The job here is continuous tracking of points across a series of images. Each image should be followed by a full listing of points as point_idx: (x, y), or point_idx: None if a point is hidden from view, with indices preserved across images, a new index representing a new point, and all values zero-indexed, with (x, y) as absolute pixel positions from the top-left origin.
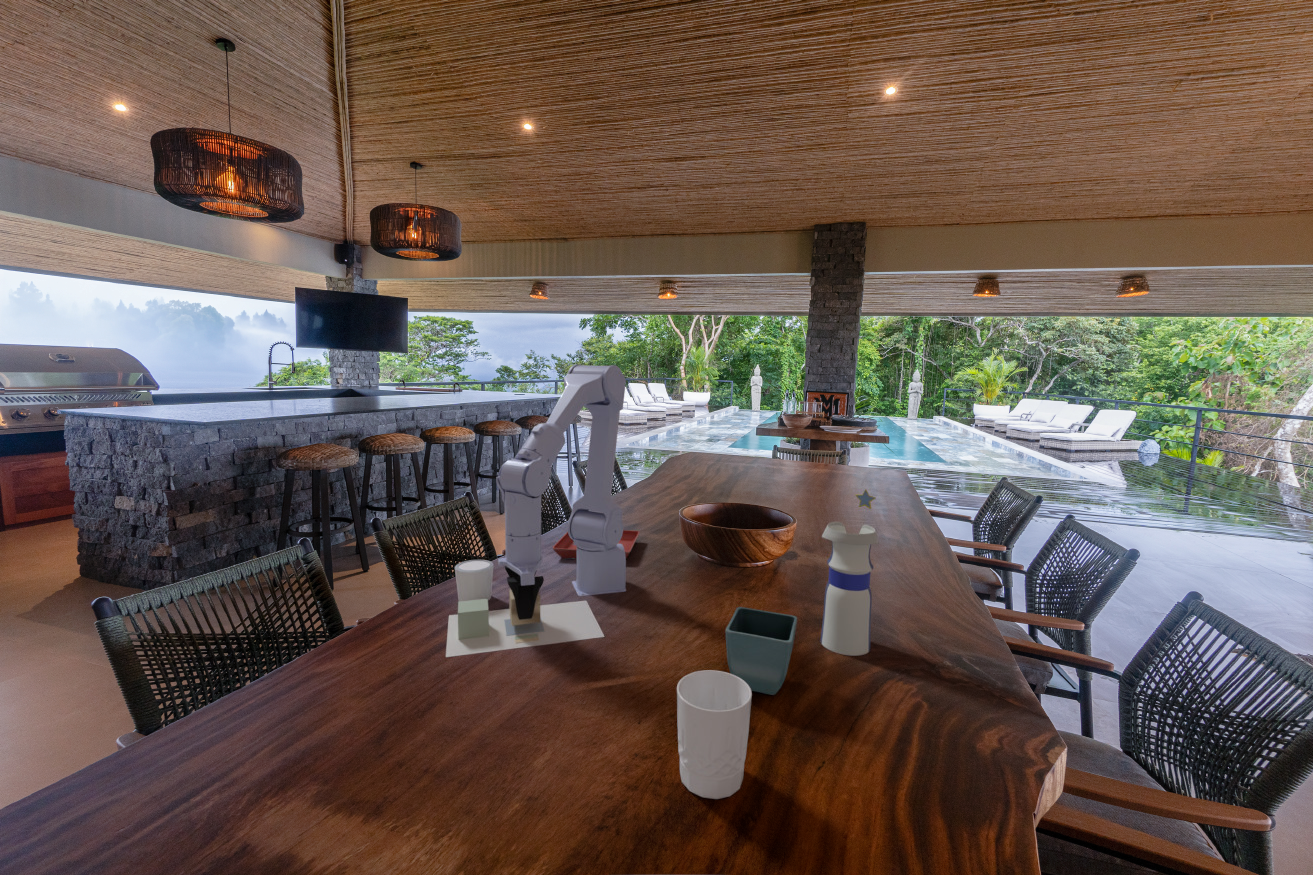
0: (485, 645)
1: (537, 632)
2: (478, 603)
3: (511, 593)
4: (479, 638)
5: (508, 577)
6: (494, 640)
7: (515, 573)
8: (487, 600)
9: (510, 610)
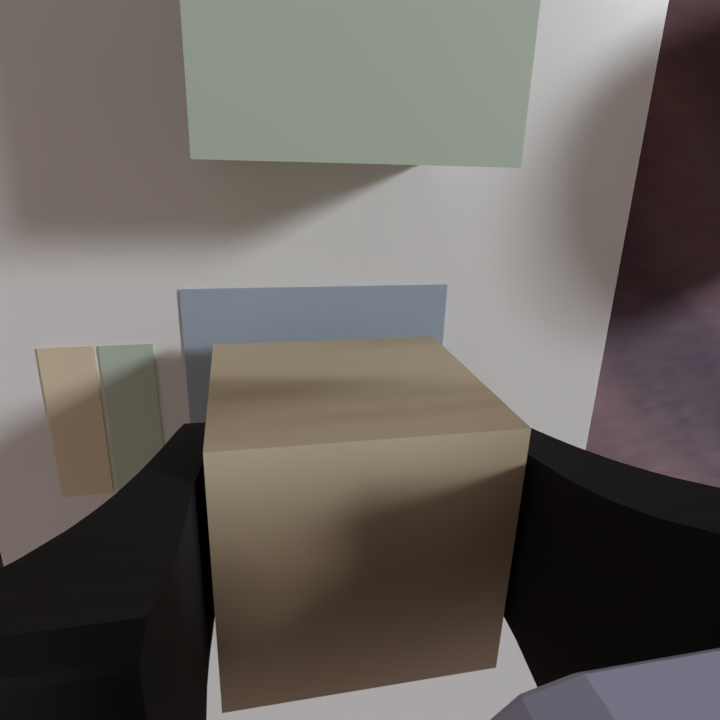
0: (32, 116)
1: None
2: (418, 45)
3: (388, 451)
4: (175, 73)
5: (113, 692)
6: (112, 195)
7: (640, 613)
8: (466, 163)
9: (340, 366)
